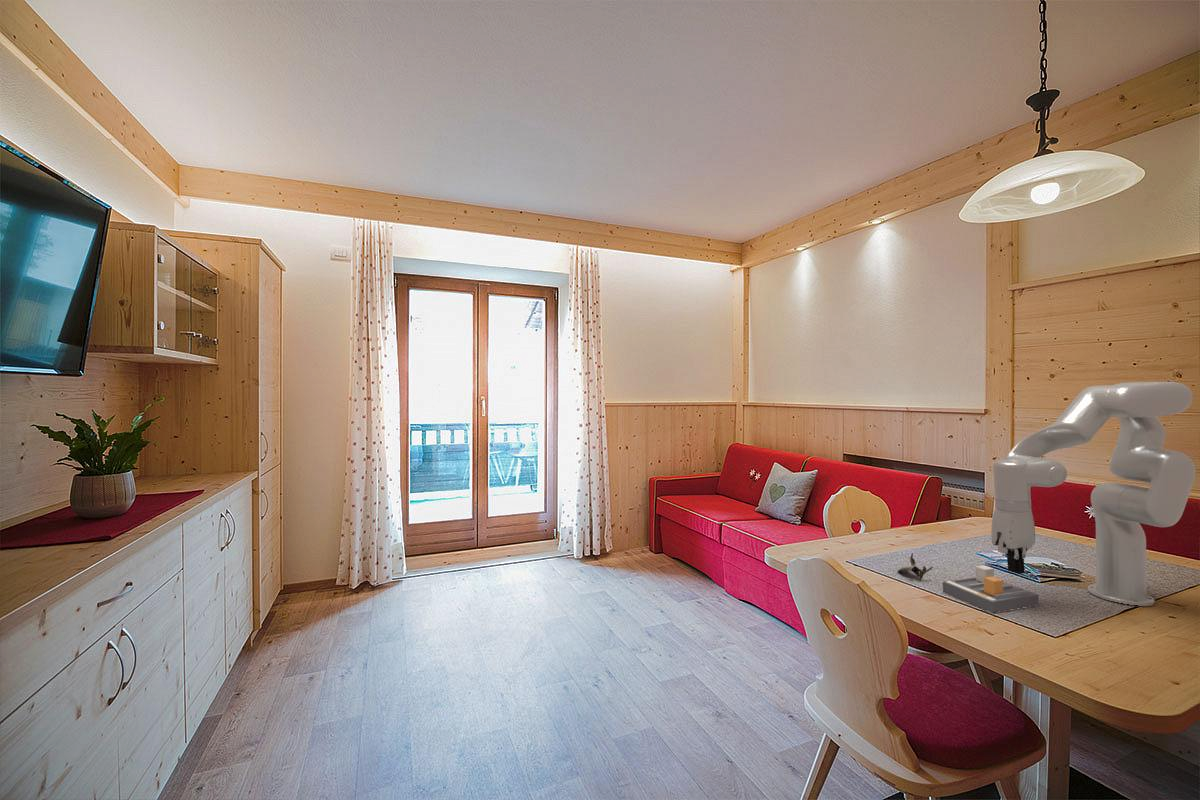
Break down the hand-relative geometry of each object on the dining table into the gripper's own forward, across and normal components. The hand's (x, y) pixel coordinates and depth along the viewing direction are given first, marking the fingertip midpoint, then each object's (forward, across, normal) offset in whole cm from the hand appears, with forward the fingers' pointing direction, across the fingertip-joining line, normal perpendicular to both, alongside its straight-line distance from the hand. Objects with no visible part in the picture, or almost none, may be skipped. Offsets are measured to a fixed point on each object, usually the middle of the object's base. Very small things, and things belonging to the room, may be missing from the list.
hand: (1016, 571), depth 133 cm
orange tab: (+5, +8, 0) cm, 9 cm away
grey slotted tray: (+8, +5, -4) cm, 10 cm away
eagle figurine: (+8, +11, -23) cm, 27 cm away
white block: (+5, +2, -7) cm, 9 cm away
